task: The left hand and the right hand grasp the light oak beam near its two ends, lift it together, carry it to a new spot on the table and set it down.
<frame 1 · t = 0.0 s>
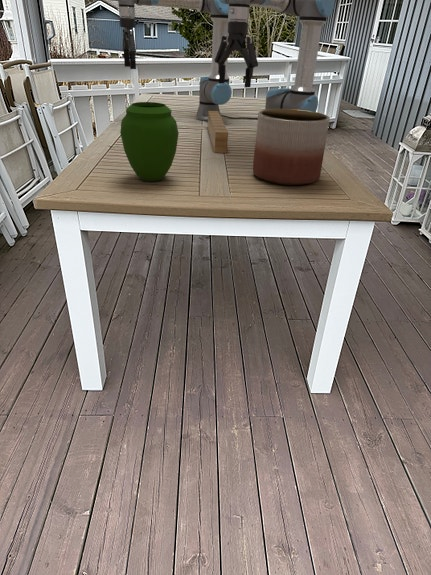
left hand: (130, 67, 208), 28 cm above the table, tool pointing down, fingers open, 13 cm apart
right hand: (234, 85, 162), 28 cm above the table, tool pointing down, fingers open, 13 cm apart
vase: (151, 178, 146), on the table
beam: (216, 138, 205), on the table
planter: (285, 177, 156), on the table
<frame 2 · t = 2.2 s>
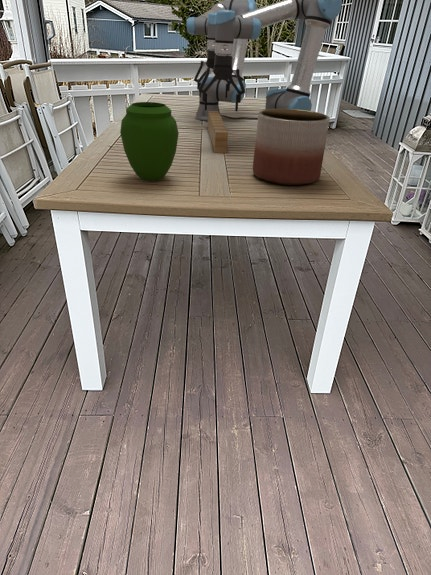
left hand: (213, 97, 212), 17 cm above the table, tool pointing down, fingers open, 13 cm apart
right hand: (221, 110, 180), 16 cm above the table, tool pointing down, fingers open, 13 cm apart
nothing on the table moved.
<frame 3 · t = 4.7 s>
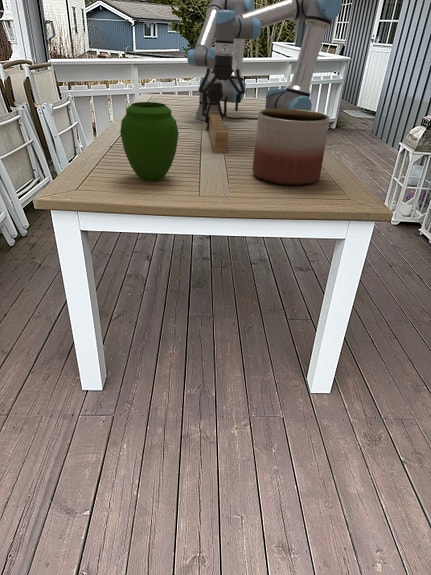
left hand: (213, 129, 221), 1 cm above the table, tool pointing down, fingers closed on beam, 5 cm apart
right hand: (221, 110, 180), 16 cm above the table, tool pointing down, fingers open, 13 cm apart
beam: (216, 138, 205), on the table, touching left hand
everything else where it was.
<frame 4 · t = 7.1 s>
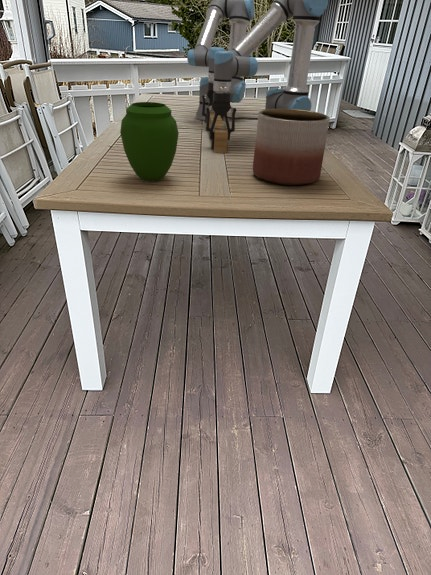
left hand: (213, 129, 221), 1 cm above the table, tool pointing down, fingers closed on beam, 5 cm apart
right hand: (219, 147, 189), 1 cm above the table, tool pointing down, fingers closed on beam, 5 cm apart
beam: (216, 138, 205), on the table, touching left hand, right hand
everything else where it was.
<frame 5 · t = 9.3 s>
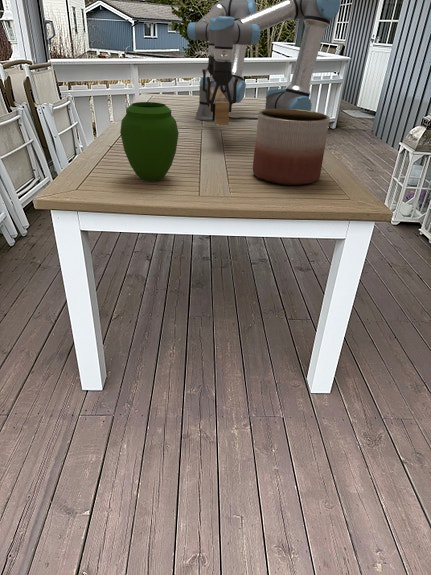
left hand: (214, 106, 215), 12 cm above the table, tool pointing down, fingers closed on beam, 5 cm apart
right hand: (220, 119, 182), 12 cm above the table, tool pointing down, fingers closed on beam, 5 cm apart
beam: (217, 113, 199), point 12 cm above the table, touching left hand, right hand
everything else where it was.
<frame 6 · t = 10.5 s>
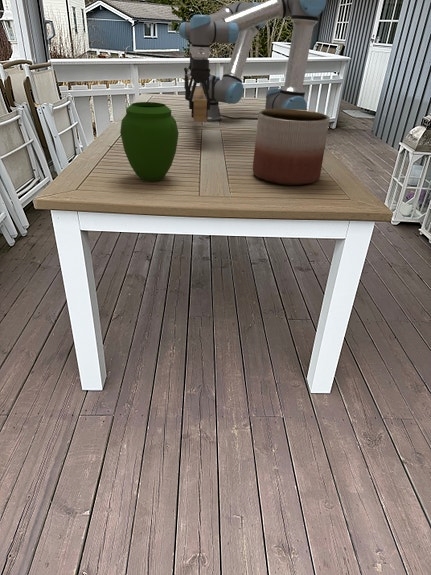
left hand: (196, 104, 217), 12 cm above the table, tool pointing down, fingers closed on beam, 6 cm apart
right hand: (199, 117, 185), 13 cm above the table, tool pointing down, fingers closed on beam, 5 cm apart
beam: (197, 111, 201), point 12 cm above the table, touching left hand, right hand
everything else where it was.
when the left hand's fingers open (2 cm above the table, at t = 13.9 s): beam drops 2 cm, on the table.
when the right hand's fingers open (2 cm above the table, at t = 13.9 s): beam drops 2 cm, on the table.
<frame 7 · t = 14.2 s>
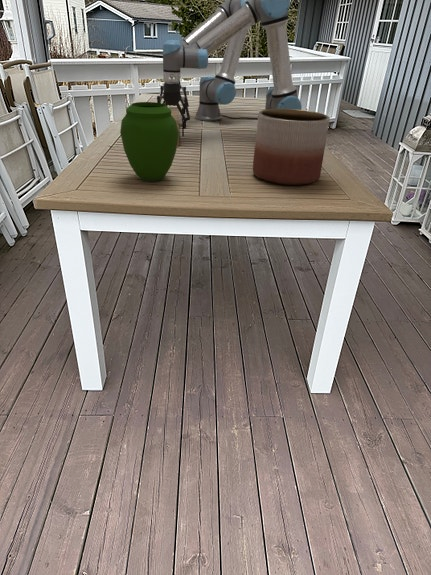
left hand: (173, 120, 225), 3 cm above the table, tool pointing down, fingers open, 9 cm apart
right hand: (172, 135, 193), 3 cm above the table, tool pointing down, fingers open, 9 cm apart
beam: (173, 133, 211), on the table
everything else where it was.
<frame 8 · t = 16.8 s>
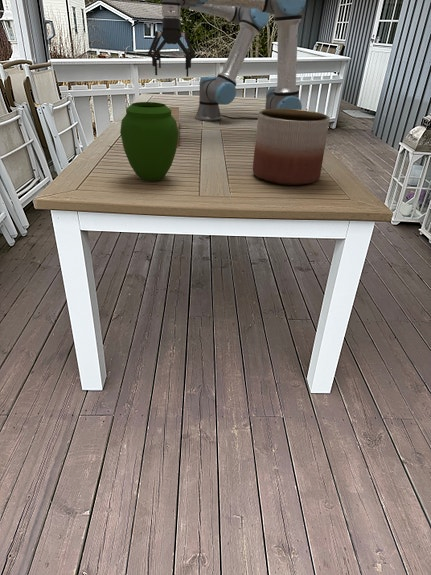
left hand: (173, 68, 212), 28 cm above the table, tool pointing down, fingers open, 13 cm apart
right hand: (171, 75, 180), 28 cm above the table, tool pointing down, fingers open, 13 cm apart
nothing on the table moved.
at the end: beam inside the target area (0.2 cm from its centre), on the table; beam tilted 0°; beam never tilted more than 1° during the clip; both hands held the beam at the same time; the left hand is holding nothing; the right hand is holding nothing; beam at rest at the end (0.0 cm/s) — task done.
